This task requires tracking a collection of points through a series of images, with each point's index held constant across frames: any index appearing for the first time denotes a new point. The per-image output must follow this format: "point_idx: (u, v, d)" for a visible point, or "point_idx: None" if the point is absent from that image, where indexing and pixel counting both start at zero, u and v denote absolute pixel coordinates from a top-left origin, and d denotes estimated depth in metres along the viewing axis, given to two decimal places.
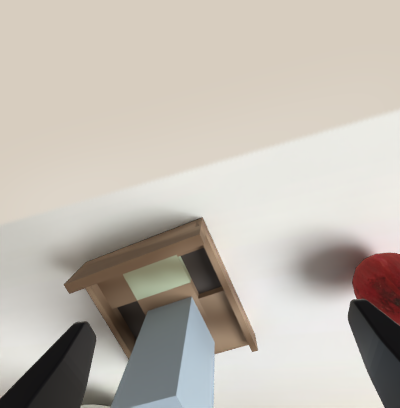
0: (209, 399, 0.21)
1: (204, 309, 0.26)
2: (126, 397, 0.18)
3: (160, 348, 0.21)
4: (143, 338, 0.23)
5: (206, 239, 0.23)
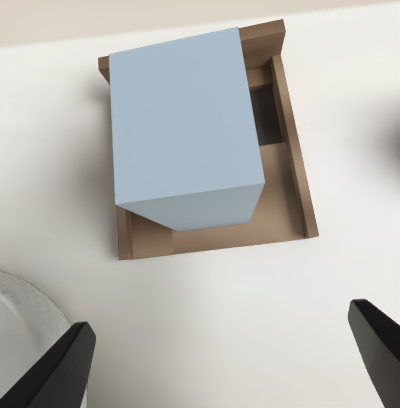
0: None
1: None
2: None
3: None
4: None
5: (280, 59, 0.19)
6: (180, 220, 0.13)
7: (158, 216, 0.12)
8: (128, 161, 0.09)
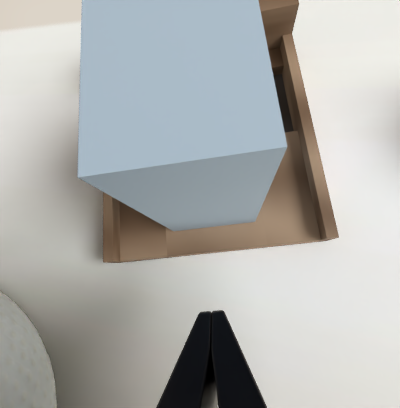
0: None
1: None
2: None
3: None
4: None
5: (291, 39, 0.17)
6: (173, 213, 0.11)
7: (144, 204, 0.09)
8: (99, 121, 0.07)
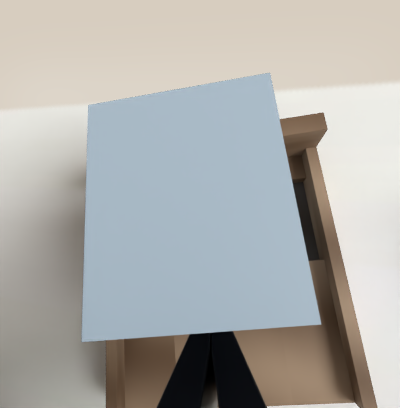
0: None
1: None
2: None
3: None
4: None
5: (315, 153, 0.15)
6: None
7: None
8: (106, 270, 0.06)
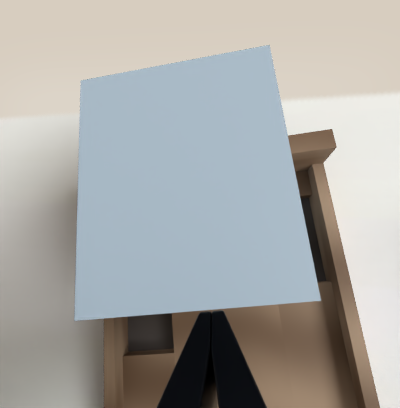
0: None
1: (281, 313, 0.14)
2: None
3: None
4: None
5: (322, 170, 0.14)
6: None
7: None
8: (99, 248, 0.06)
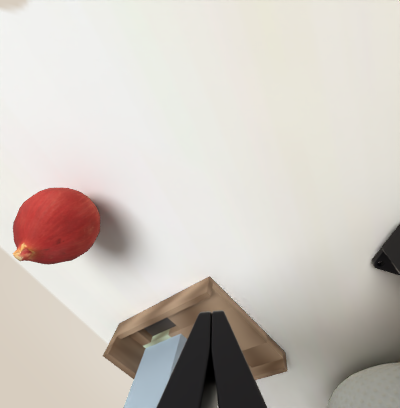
0: (156, 402, 0.23)
1: (189, 324, 0.27)
2: None
3: None
4: None
5: (119, 335, 0.29)
6: None
7: None
8: None
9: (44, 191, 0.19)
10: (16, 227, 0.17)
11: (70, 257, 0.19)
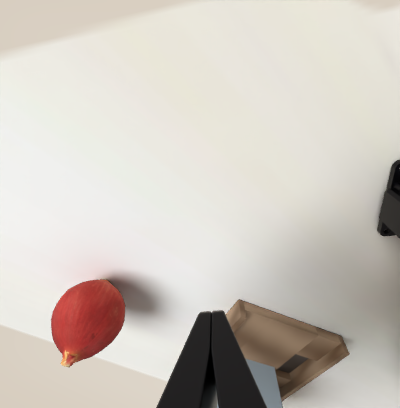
0: None
1: (241, 346, 0.29)
2: None
3: None
4: None
5: None
6: None
7: None
8: None
9: (64, 296, 0.21)
10: (55, 338, 0.20)
11: (109, 342, 0.21)
